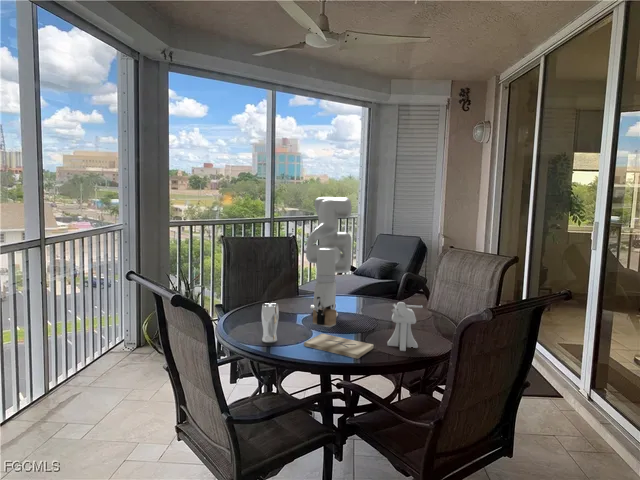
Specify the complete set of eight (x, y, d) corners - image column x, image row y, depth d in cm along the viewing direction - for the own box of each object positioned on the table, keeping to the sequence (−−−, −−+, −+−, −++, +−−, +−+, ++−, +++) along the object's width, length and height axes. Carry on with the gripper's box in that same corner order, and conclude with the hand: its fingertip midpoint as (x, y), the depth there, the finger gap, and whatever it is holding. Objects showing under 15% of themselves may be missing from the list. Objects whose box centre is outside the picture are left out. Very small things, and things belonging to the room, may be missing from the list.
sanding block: (312, 324, 179) (313, 309, 178) (319, 321, 183) (319, 307, 182) (329, 327, 174) (330, 312, 174) (335, 324, 179) (336, 310, 178)
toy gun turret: (421, 352, 173) (423, 307, 171) (387, 349, 175) (389, 305, 173) (419, 342, 185) (421, 300, 183) (387, 340, 187) (389, 298, 185)
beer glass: (271, 344, 177) (271, 307, 175) (257, 341, 180) (258, 305, 179) (281, 340, 183) (282, 304, 181) (268, 336, 186) (268, 302, 185)
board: (304, 345, 176) (304, 341, 176) (322, 336, 188) (322, 333, 188) (357, 358, 164) (357, 354, 164) (373, 348, 176) (373, 344, 176)
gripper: (328, 274, 186) (326, 317, 188) (306, 280, 172) (305, 326, 173) (343, 276, 182) (342, 319, 184) (322, 282, 168) (321, 329, 169)
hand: (324, 322), depth 179 cm, fingers closed on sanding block, 5 cm apart
